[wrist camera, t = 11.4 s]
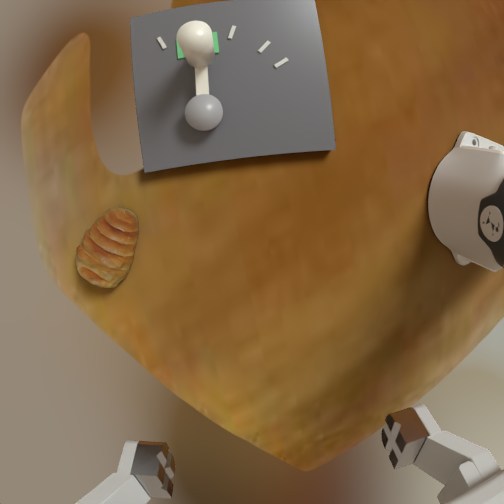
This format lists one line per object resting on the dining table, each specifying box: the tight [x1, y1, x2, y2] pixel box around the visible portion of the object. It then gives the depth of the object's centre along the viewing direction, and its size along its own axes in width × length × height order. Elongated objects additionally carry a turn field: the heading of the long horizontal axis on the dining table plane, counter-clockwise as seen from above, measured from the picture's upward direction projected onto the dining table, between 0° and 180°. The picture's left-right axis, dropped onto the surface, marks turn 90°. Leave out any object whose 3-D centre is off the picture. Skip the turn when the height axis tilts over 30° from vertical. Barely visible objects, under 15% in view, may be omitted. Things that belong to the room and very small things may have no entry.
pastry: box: [75, 207, 139, 288], centre depth 33 cm, size 9×7×4 cm
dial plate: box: [130, 0, 336, 173], centre depth 29 cm, size 20×18×2 cm
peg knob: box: [177, 21, 223, 131], centre depth 24 cm, size 10×4×7 cm, turn 4°
